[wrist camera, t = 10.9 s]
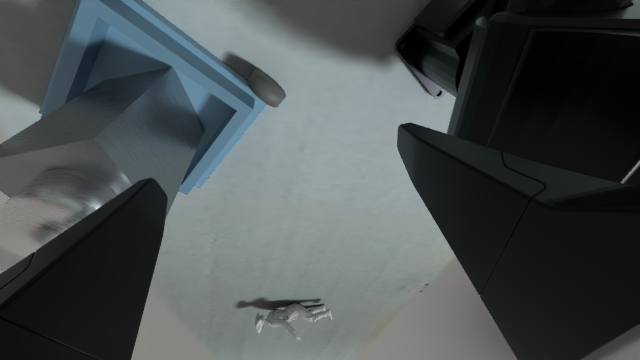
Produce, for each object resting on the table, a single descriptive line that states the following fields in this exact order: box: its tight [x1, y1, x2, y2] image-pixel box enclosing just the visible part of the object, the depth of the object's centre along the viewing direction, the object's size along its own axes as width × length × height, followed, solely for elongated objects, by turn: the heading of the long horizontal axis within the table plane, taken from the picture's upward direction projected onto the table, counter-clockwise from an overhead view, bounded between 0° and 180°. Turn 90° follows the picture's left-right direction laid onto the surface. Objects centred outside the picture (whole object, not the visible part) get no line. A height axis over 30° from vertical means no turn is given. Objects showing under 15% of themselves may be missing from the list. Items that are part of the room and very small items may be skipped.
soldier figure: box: [255, 303, 333, 340], centre depth 42 cm, size 8×5×12 cm
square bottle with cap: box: [0, 67, 205, 271], centre depth 14 cm, size 5×5×13 cm
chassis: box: [39, 0, 286, 195], centre depth 19 cm, size 13×12×3 cm
